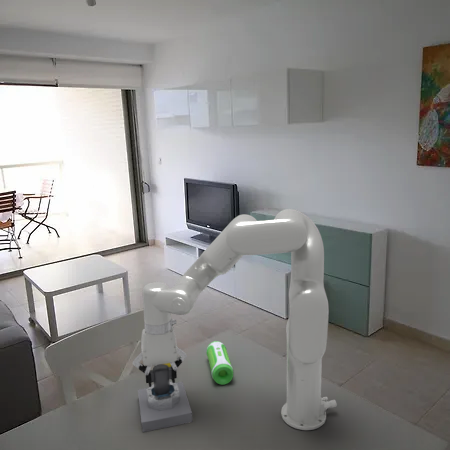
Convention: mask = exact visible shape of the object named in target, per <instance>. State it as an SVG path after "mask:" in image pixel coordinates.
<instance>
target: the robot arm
mask: <svg viewBox="0 0 450 450" xmlns="http://www.w3.org/2000/svg"><path fill="white" fill-rule="evenodd" d="M283 253H291V254H290V255H291V256H290V257H291V259H290V264H291V265H290V268H291V269H290V283H289V289H288V303H289V305H288V307H289V310H288V311H289V313H288V319H287V322H286V326H285V327H286V328H285V331H286V402H285V403H284V404H283V405H282V407H281V411H280V413H281V414H280V415H281V418H282V420H283V422H285V423H286V424H287V425H288V426H290V427H292V428H294V429H296V430H302V431H311V430H316V429H319V428H321V427H322V426H323V425H324V424H325V423H326V420H327V413H326V411H327V409H332V408H336V407H337V405H338V404H337V401H336V399H331V400H329V398H328V396H323V397H322V365H323V364H322V362H323V361H322V360H323V356H324V354H325V353H326V349H327V344H328V343H327V341H328V332H329V331H328V330H329V327H328V326H329V313H330V311H329V301H328V297H327V292H326V290H325V285H324V279H325V278H324V275H325V273H324V272H325V264H324V263H325V249H324V242H323V239H322V235H321V233H320V230H319V229H318V227H317V226H316V223H315V222H314V221H313V220H312V219H311V218H310V217H309V216H308V215H306V214H305V213H303V212H301V211H300V210H298V209H293V208H286V209H285V208H284V209H282V210H281V211H279V212H278V213H277V214H276V215H275V216H274V218H273V219H267V220H257V219H256V218H255V217H254V216H252V215H250V214H243V213H242V214H239V215H237V216H236V217H234V218H233V219H232V220H231V221H230V222H229V223H228V224H227V226H226V227H225V228H224V229H223V230H222V231H221V232H220V233H219V234H218V235H217V236H216V238H215V239H214V240H213V241H212V242H211V243H210V244H209V245H208V246H207V247H206V248H205V250H204V251H202V253H201V254H200V255H199V257H198V258H197V259H196V260H195V261H194V262H193V264H192V265H190V267H189V268H188V269H186V271H185V272H184V273H183V274H182V275H181V276H180V277H179V279H178V280H177V281H176V282H175V284H174V285H173V287H171V288H170V286H169V285H168V284H167V283H165V282H162V281H154V282H149V283H146V284H145V285H144V286H143V288H142V291H141V292H142V306H143V321H144V328H143V329H142V330H141V339H140V340H141V341H140V343H141V344H140V346H141V347H140V348H141V349H140V350H141V352H140V353H138V355H137V356H136V357H135V358H134V360H132V365H133V366H134V367H135V368H136V369H138V370H139V371H141V372H142V373H143V374H144V375H145V382H146V384H148V388H149V387H151V386H152V385H153V384H152V383H151V374H150V370H152V366H153V367H155V366H156V365H160V364H166V363H170V364H171V369H172V379H171V382H172V383H176V379H177V378H178V377H177V375H178V374H177V370H178V368H179V367H180V366H181V365H182V363H183V361H185V359H187V357H188V355H187V352H185V351H184V350H182V349H181V348H179V347H178V342H177V341H178V340H177V336H176V331H175V328H174V325H177V319H173V318H172V315H176V316H185V315H188V314H189V313H191V312H192V310H193V309H194V307H195V305H196V302H197V300H198V298H199V296H200V295H201V294H202V293H203V291H204V290H205V289H206V287H208V286H209V285H210V284H211V283H212V282H213V281H214V280H215V279H216V278H217V277H218V276H222V275H226V274H228V272H230V270H231V269H233V267H234V266H235V265H236V264H237V263H238V262H239V261H240V260H241V258H243V256H257V255H259V256H261V255H271V254H273V255H275V254H283ZM141 361H142V362H141Z"/></svg>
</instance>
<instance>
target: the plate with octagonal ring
mask: <svg viewBox="0 0 450 450" xmlns="http://www.w3.org/2000/svg"><path fill="white" fill-rule="evenodd" d="M175 383H176V384H177V385H178V389H179V397H180V402H179V403H178V404H177V405H175V406H174V407H173V408H172V409H168V410H163V411H157V410H154V409H152V408H149V405H148V398H147V389H148V388H149V387H145V388H139V389H137V394H138V395H137V396H138V406H139V414H140V422H141V431H142V433H145V432H150V431H155V430H159V429H165V428H170V427H175V426H179V425H185V424H190V423H193V412H192V408H191V405H190V402H189V399H188V395H187V392H186V389H185V384H184V382H183V381H178V382H175ZM169 395H170V394H167V393H166V394H163V395H157V397H159V398H160V397H165V396H169ZM189 422H190V423H189ZM184 423H185V424H184Z"/></svg>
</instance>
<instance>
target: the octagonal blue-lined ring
mask: <svg viewBox="0 0 450 450" xmlns="http://www.w3.org/2000/svg"><path fill="white" fill-rule="evenodd" d="M169 382H170V391H169V392H168V393H167V394H170V395H169V396H165V397H160V398H159V397H157V395H158V394H156V393H155V392H154V383H153V384H152V386H151V387H149V386H148V387H147V388H148V389H147V398H148V405H149V408H152V409H154V410H157V411H163V410H168V409H172V408H173V407H174V406H175V405H177V404H178V403H179V402H180V397H179V389H178V385H177V384H176V383H177V382H175V383H172V381H171V380H169Z"/></svg>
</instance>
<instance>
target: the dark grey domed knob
mask: <svg viewBox="0 0 450 450" xmlns="http://www.w3.org/2000/svg"><path fill="white" fill-rule="evenodd" d="M150 374H151V384H152V383H153V384H154V392H155V393H156V394H158V395H163V394H166V393H168V392H169V391H170V382H171V381H170V380H172V369H171V367H168V366H167V365H165V364H160V365H154V366H153V367H152V369H150ZM169 381H170V382H169Z"/></svg>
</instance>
